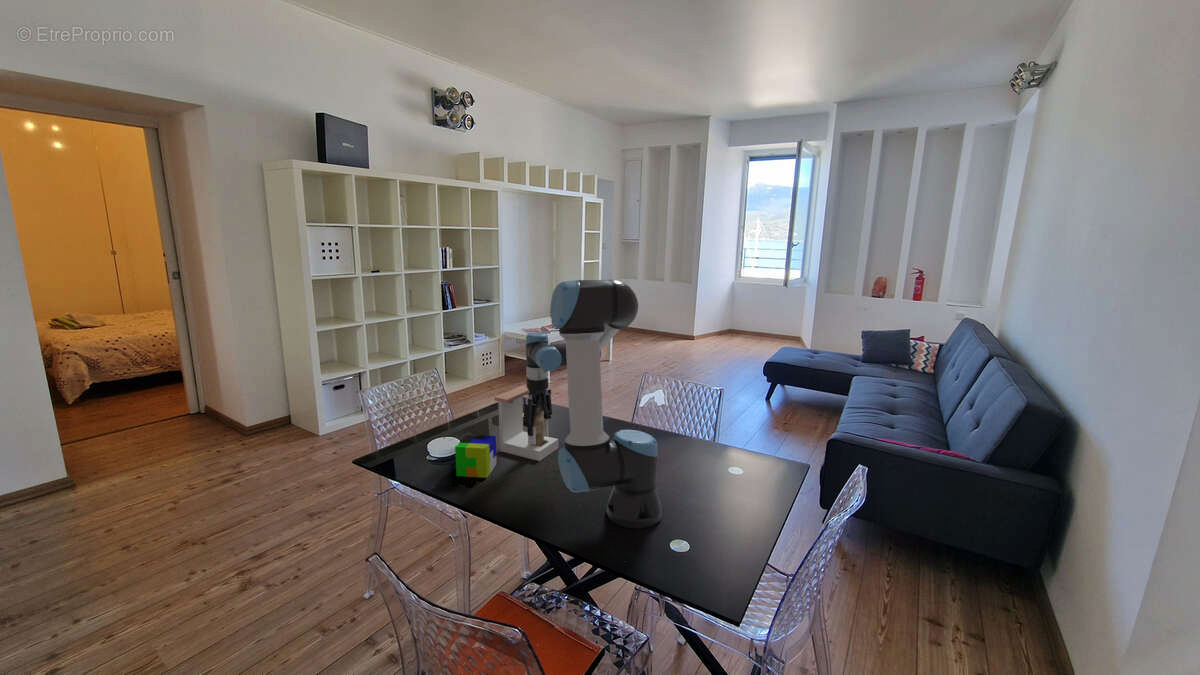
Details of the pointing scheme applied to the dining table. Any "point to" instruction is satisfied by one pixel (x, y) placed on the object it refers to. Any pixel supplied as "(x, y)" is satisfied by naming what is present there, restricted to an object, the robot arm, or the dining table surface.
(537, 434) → the dowel
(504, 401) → the wood-topped pedestal
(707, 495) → the dining table surface
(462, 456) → the puzzle toy
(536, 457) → the socket board
